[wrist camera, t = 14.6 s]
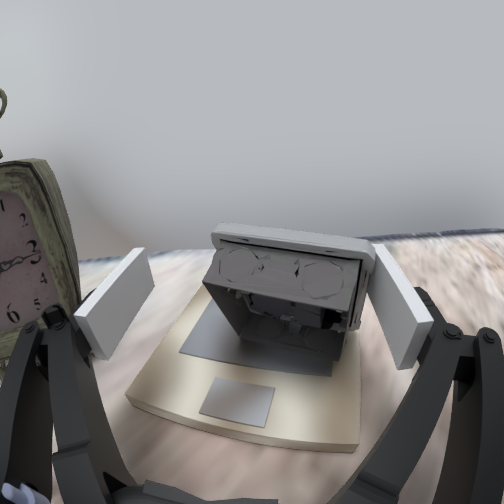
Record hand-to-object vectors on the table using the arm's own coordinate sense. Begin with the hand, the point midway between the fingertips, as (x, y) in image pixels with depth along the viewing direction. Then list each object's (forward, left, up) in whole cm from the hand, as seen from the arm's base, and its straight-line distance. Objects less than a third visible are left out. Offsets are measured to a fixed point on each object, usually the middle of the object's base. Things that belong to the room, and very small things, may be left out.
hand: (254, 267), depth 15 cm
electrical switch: (-2, -2, -7) cm, 8 cm away
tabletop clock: (+20, +5, -9) cm, 23 cm away
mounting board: (0, -5, -9) cm, 10 cm away
